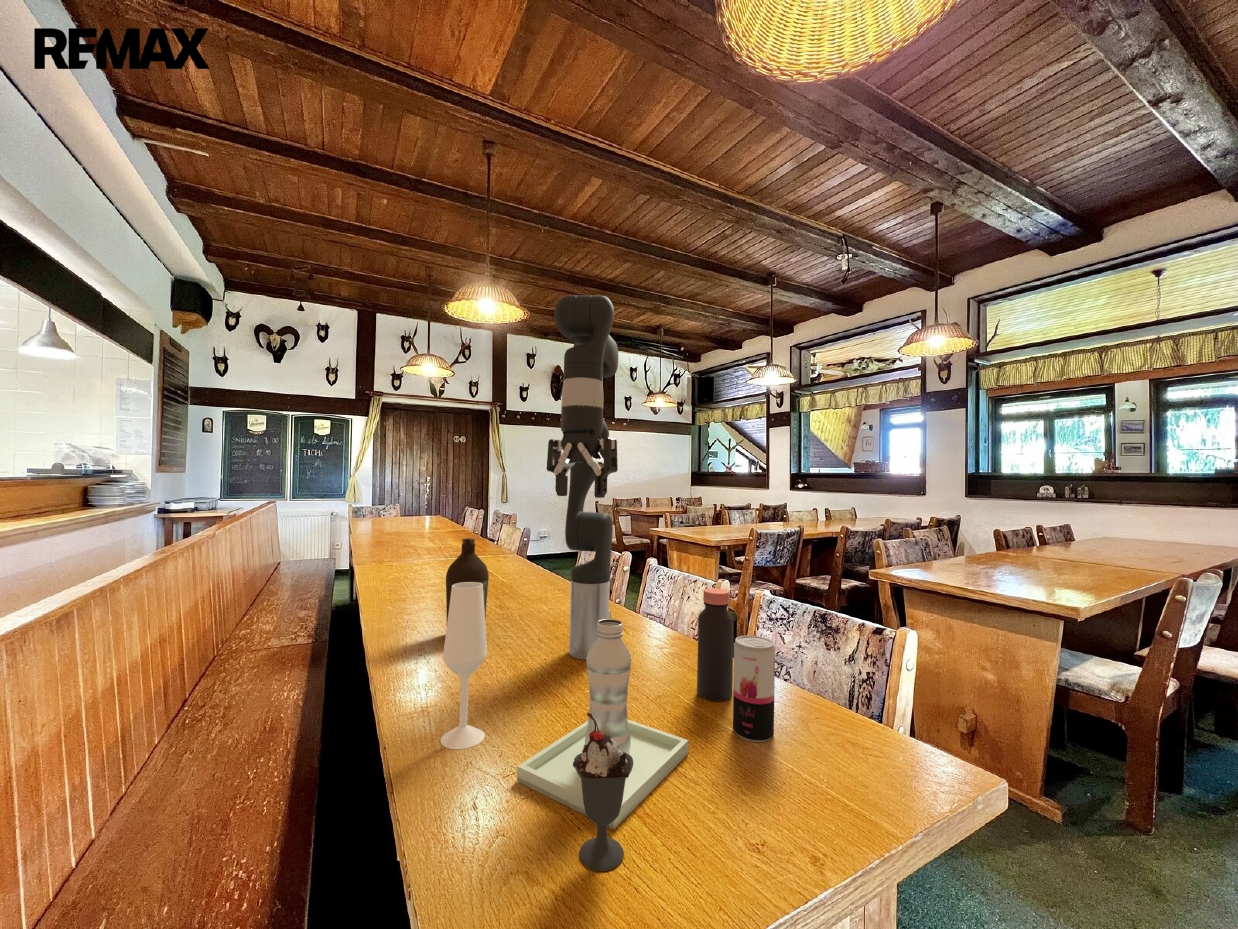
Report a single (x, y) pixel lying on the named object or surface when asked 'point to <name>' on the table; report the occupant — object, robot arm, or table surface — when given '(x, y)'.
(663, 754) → the tray
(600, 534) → the robot arm
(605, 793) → the sundae
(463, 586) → the champagne flute
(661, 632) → the table surface
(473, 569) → the olive oil
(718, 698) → the dark grey water bottle
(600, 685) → the silver metal bottle
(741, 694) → the beverage can
